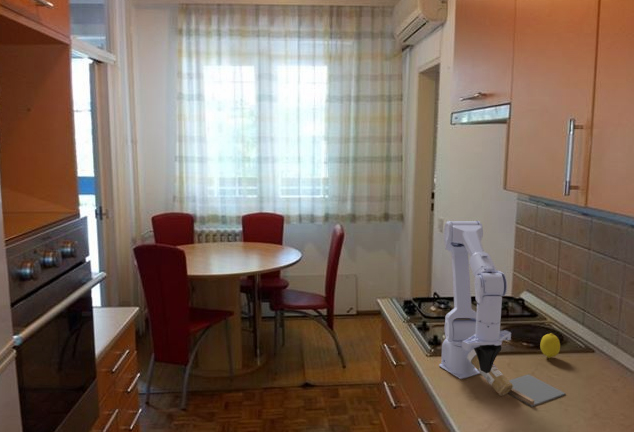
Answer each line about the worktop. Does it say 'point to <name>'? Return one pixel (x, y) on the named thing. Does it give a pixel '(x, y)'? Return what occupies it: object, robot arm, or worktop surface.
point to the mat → (533, 390)
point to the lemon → (550, 345)
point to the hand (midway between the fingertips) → (485, 371)
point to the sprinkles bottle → (492, 375)
